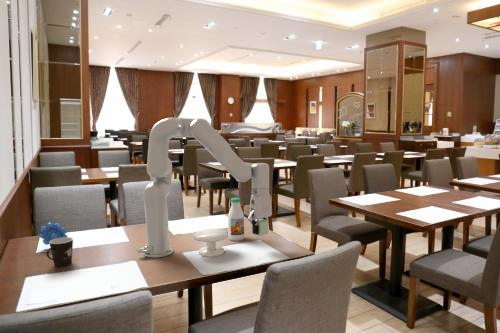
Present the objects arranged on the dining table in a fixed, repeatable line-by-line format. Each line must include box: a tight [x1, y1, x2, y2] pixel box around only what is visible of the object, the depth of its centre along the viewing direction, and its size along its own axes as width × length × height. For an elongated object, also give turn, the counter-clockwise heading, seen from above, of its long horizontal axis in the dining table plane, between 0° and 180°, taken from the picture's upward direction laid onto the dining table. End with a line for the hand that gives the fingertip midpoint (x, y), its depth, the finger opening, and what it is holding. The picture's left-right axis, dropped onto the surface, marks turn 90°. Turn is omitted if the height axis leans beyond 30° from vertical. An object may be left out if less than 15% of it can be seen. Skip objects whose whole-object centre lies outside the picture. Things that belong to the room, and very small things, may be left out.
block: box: [251, 219, 269, 237], centre depth 168 cm, size 5×5×6 cm
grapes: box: [38, 222, 69, 246], centre depth 178 cm, size 12×7×12 cm, turn 120°
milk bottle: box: [227, 197, 245, 242], centre depth 186 cm, size 8×8×20 cm
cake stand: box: [193, 228, 229, 258], centre depth 168 cm, size 15×15×8 cm
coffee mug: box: [46, 236, 74, 268], centre depth 156 cm, size 12×9×10 cm
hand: (260, 232), depth 169 cm, fingers closed on block, 5 cm apart
